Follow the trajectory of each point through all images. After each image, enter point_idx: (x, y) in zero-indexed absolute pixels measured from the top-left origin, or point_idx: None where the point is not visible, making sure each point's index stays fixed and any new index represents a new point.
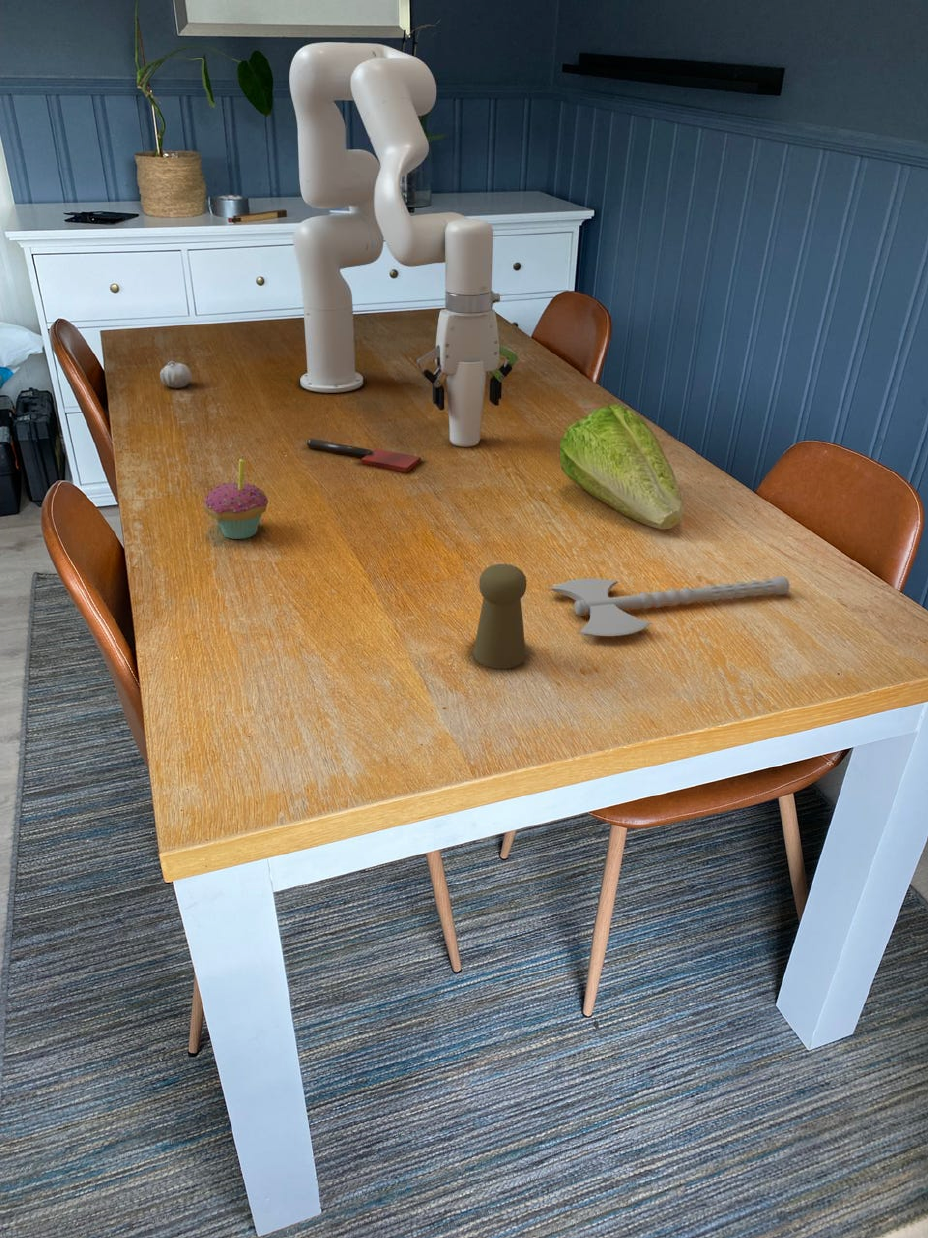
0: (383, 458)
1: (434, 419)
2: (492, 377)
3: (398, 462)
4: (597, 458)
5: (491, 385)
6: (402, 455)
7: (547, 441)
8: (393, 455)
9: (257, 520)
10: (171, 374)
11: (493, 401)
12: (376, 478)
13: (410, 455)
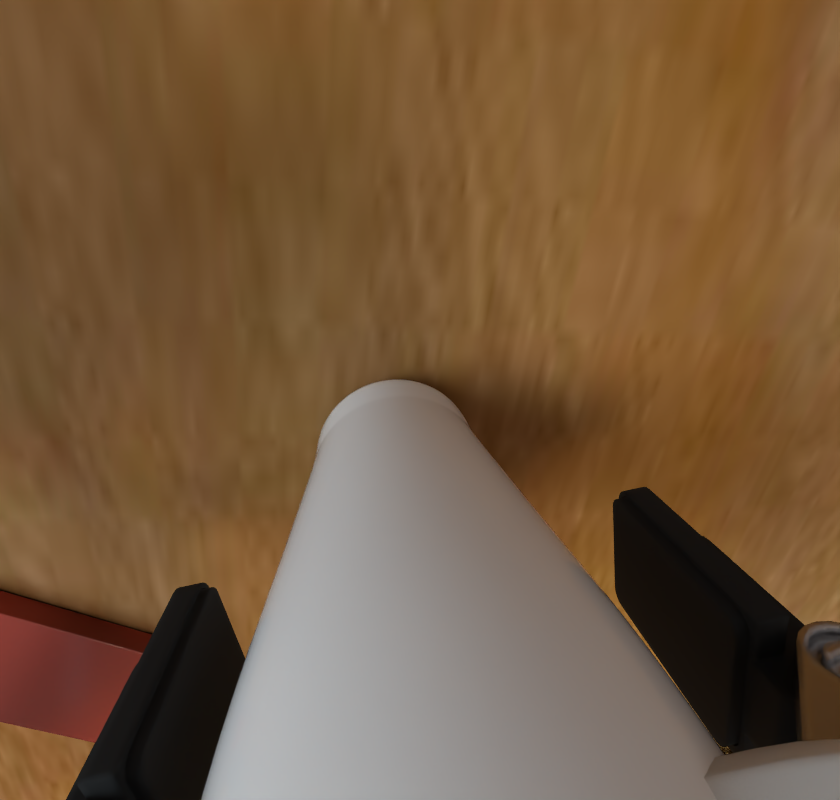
0: (9, 687)
1: (224, 30)
2: (768, 689)
3: (90, 716)
4: None
5: (695, 629)
6: (95, 655)
7: (759, 429)
8: (50, 658)
9: None
10: None
11: (624, 591)
12: (31, 773)
13: (133, 655)
